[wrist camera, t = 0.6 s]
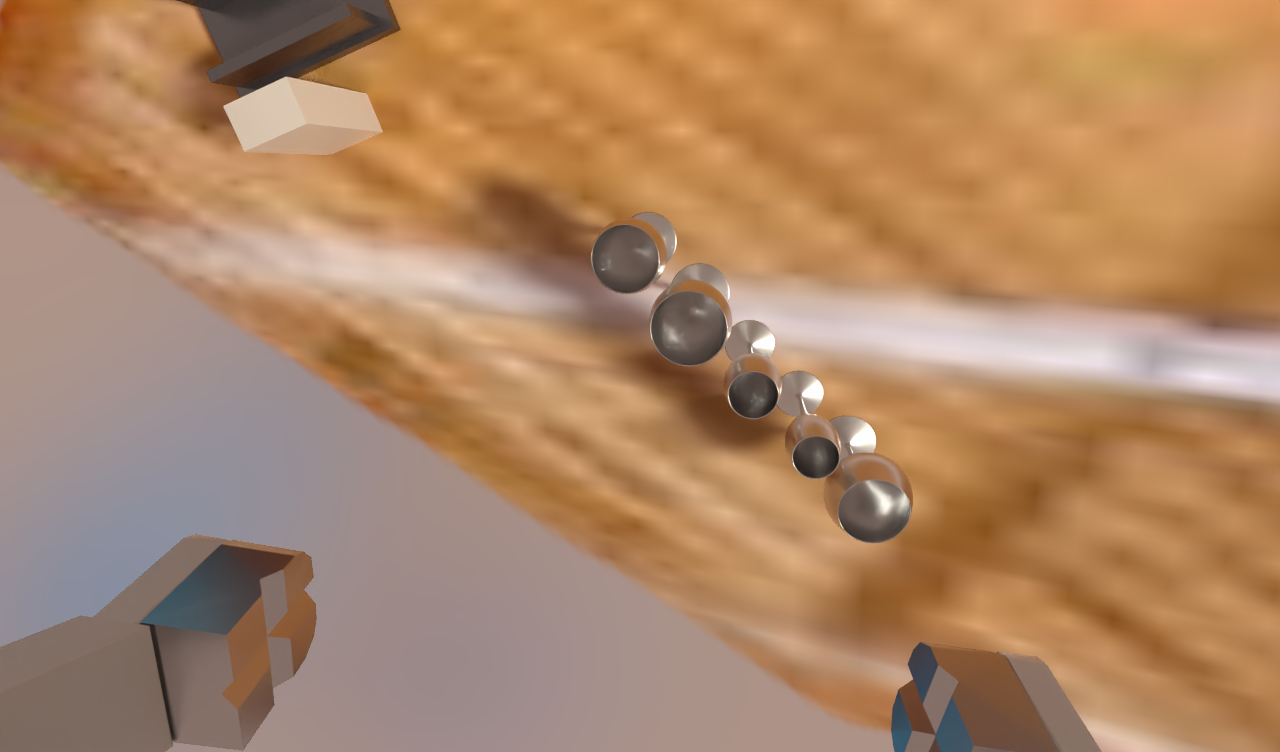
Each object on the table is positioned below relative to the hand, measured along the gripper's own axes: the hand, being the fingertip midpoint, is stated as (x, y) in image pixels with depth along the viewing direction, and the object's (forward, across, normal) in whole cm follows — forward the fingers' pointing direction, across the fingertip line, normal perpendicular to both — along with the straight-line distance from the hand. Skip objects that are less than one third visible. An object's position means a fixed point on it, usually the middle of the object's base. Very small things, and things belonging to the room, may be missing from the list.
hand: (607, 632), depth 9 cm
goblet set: (+45, -8, +11) cm, 47 cm away
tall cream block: (+49, +26, -1) cm, 55 cm away
